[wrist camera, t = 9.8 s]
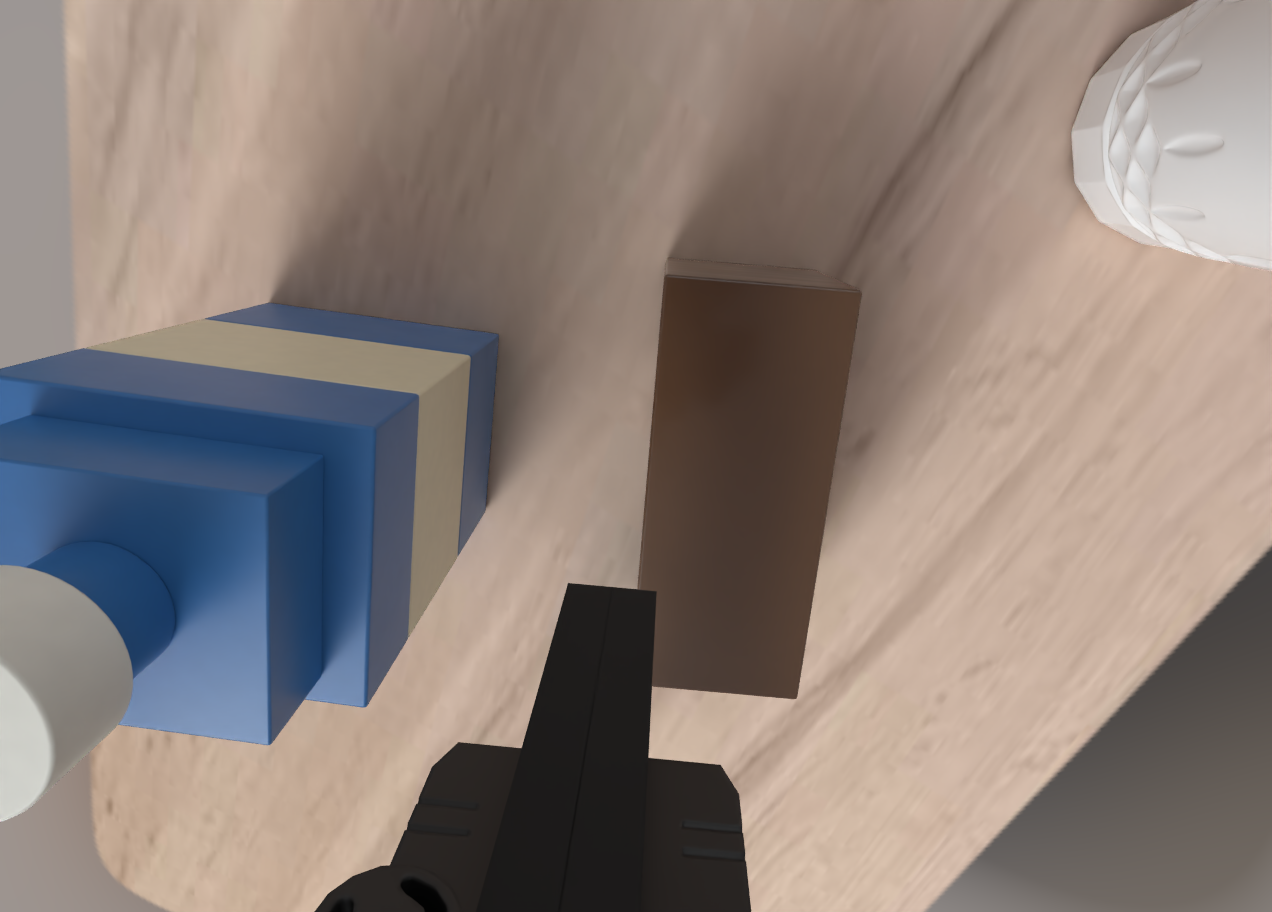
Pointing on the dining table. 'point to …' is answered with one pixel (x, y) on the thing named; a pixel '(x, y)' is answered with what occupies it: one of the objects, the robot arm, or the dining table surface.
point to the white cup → (1185, 134)
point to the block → (741, 469)
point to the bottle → (226, 523)
